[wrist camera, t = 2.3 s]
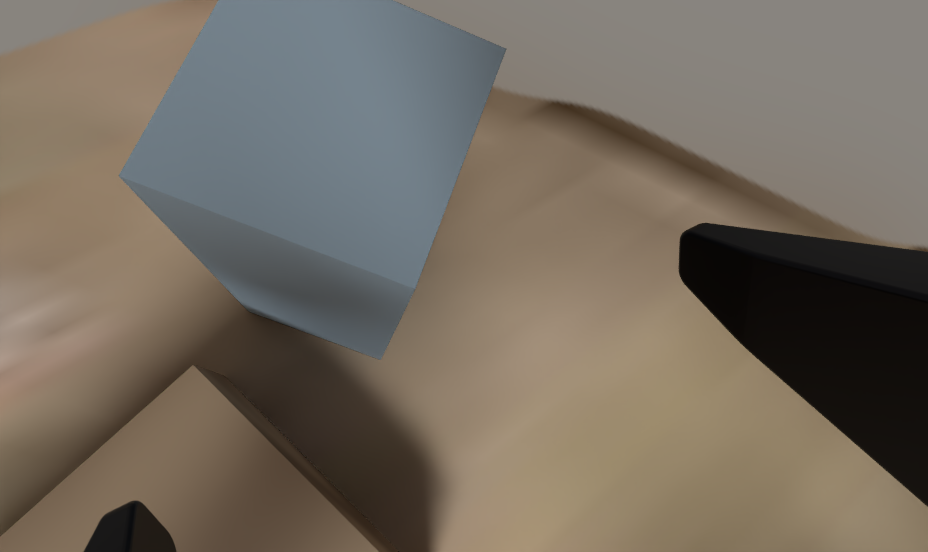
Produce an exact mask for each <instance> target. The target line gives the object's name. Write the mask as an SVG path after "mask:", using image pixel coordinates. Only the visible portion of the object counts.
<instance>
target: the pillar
mask: <svg viewBox="0 0 928 552" xmlns="http://www.w3.org/2000/svg"><path fill="white" fill-rule="evenodd" d="M505 51H506V49H505V48H503V47H501V46H498V45H496V44H494V43H491V42H489V41H486V40H484V39H482V38H480V37H477V36H475V35H473V34H470V33H468V32H466V31H463V30H461V29H459V28H456V27H454V26H451V25H449V24H447V23H445V22H442V21H440V20H438V19H435V18H433V17H431V16H428V15H426V14H423V13H421V12H419V11H417V10H414V9H412V8H410V7H407V6H405V5H402V4H400V3H398V2H395V1H393V0H219V1H218V2H217V4H216V6H215V8H214V9H213V11H212V13H211V15H210V16H209V18H208V20H207V22H206V23H205V25H204V27H203V29H202V30H201V32H200V34H199V36H198V37H197V39H196V41H195V43H194V44H193V46H192V48H191V50H190V51H189V53H188V55H187V57H186V59H185V60H184V62H183V64H182V66H181V67H180V69H179V71H178V73H177V74H176V76H175V78H174V80H173V81H172V83H171V85H170V87H169V88H168V90H167V92H166V94H165V95H164V97H163V99H162V101H161V102H160V104H159V106H158V108H157V109H156V111H155V113H154V115H153V116H152V118H151V120H150V122H149V123H148V125H147V127H146V129H145V131H144V132H143V134H142V136H141V138H140V139H139V141H138V143H137V145H136V146H135V148H134V150H133V152H132V153H131V155H130V157H129V159H128V160H127V162H126V164H125V166H124V167H123V169H122V171H121V173H120V174H119V177H120V178H121V179H122V180H123V181H124V182H125V183H126V184H127V185H128V186H129V187H130V188H131V189H132V190H133V191H134V192H135V194H136V195H137V196H138V197H139V198H140V199H141V200H142V201H143V202H144V203H145V204H146V205H147V206H148V207H149V208H150V209H151V210H152V211H153V212H154V213H155V214H156V215H157V216H158V218H159V219H160V220H161V221H162V222H163V223H164V224H165V225H166V226H167V227H168V228H169V229H170V230H171V231H172V232H173V233H174V234H175V235H176V236H177V237H178V238H179V239H180V240H181V242H182V243H183V244H184V245H185V246H186V247H187V248H188V249H189V250H190V251H191V252H192V253H193V254H194V255H195V256H196V257H197V258H198V259H199V260H200V261H201V262H202V263H203V264H204V266H205V267H206V268H207V269H208V270H209V271H210V272H211V273H212V274H213V275H214V276H215V277H216V278H217V279H218V280H219V281H220V282H221V283H222V284H223V285H224V286H225V287H226V288H227V289H228V291H229V292H230V293H231V294H232V295H233V296H234V297H235V298H236V299H237V300H238V301H239V302H240V303H241V304H242V305H243V306H244V307H245V308H246V309H247V310H248V311H249V312H252V313H254V314H257V315H260V316H262V317H265V318H268V319H271V320H273V321H276V322H279V323H282V324H284V325H287V326H290V327H292V328H295V329H298V330H301V331H303V332H306V333H309V334H311V335H314V336H317V337H320V338H322V339H325V340H328V341H330V342H333V343H336V344H339V345H341V346H344V347H347V348H349V349H352V350H355V351H358V352H360V353H363V354H366V355H368V356H371V357H374V358H377V359H379V360H381V358H382V356H383V354H384V352H385V350H386V348H387V346H388V344H389V342H390V340H391V337H392V335H393V333H394V331H395V329H396V327H397V325H398V323H399V321H400V319H401V317H402V315H403V313H404V311H405V309H406V307H407V305H408V303H409V301H410V299H411V296H412V294H413V292H414V290H415V288H416V285H417V283H418V280H419V277H420V275H421V272H422V270H423V267H424V264H425V262H426V259H427V256H428V254H429V251H430V249H431V246H432V243H433V241H434V238H435V235H436V233H437V230H438V227H439V225H440V222H441V220H442V217H443V214H444V212H445V209H446V206H447V204H448V201H449V199H450V196H451V193H452V191H453V188H454V185H455V183H456V180H457V177H458V175H459V172H460V170H461V167H462V164H463V162H464V159H465V156H466V154H467V151H468V149H469V146H470V143H471V141H472V138H473V135H474V133H475V130H476V127H477V125H478V122H479V120H480V117H481V114H482V112H483V109H484V106H485V104H486V101H487V99H488V96H489V93H490V91H491V88H492V85H493V83H494V80H495V77H496V75H497V72H498V70H499V67H500V64H501V61H502V59H503V56H504V54H505Z"/></svg>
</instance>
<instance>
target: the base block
mask: <svg viewBox="0 0 928 552" xmlns="http://www.w3.org/2000/svg"><path fill="white" fill-rule="evenodd" d="M134 500H138V501H140V502H142V503H143V504H144V505H145V506H146V507H147V508H148V509H149V510H150V512H151V513H152V514H153V515H154V516H155V517H156V518H157V519H158V520H159V522H160V523H161V524H162V525H163V526H164V527H165V528H166V529H167V531H168V532H169V533H170V535H171V537H172V539H173V541H174V544H175V547H176V551H177V552H399V551H398V550H397V549H396V548H395V547H394V546H393V545H392V544H391V543H390V542H389V541H388V540H387V539H386V538H385V537H384V536H383V535H382V534H381V533H380V532H379V531H378V530H377V529H376V528H375V527H374V526H373V525H372V524H371V523H370V522H369V521H368V520H367V519H366V518H365V517H364V516H363V515H362V514H361V513H360V512H359V511H358V510H357V509H356V508H355V507H354V506H353V505H352V504H351V503H350V502H349V501H348V500H347V499H346V498H345V497H344V496H343V495H342V494H341V493H340V492H339V491H338V490H337V489H336V488H335V487H334V486H333V485H332V484H331V483H330V482H329V481H328V480H327V479H326V478H325V477H324V476H323V475H322V474H321V473H320V472H319V471H318V470H317V469H316V468H315V467H314V466H313V465H312V464H311V463H310V462H309V461H308V460H307V459H306V458H305V457H304V456H303V455H302V454H301V453H300V452H299V451H298V450H297V449H296V448H295V447H294V446H293V445H292V444H291V443H290V442H289V441H288V440H287V439H286V438H285V437H284V436H283V435H282V434H281V433H280V432H279V431H278V430H277V429H276V428H275V427H274V426H273V425H272V424H271V423H270V422H269V421H268V420H267V419H266V418H265V417H264V416H263V415H262V414H261V413H260V412H259V411H258V410H257V409H256V408H255V407H254V406H253V405H252V404H251V403H250V402H249V401H248V400H247V399H246V398H245V397H244V396H243V395H242V394H241V393H240V392H239V391H238V390H237V389H236V387H235V386H234V385H233V384H232V383H231V382H230V381H229V380H228V379H227V378H226V377H225V376H224V375H221V374H218V373H215V372H212V371H209V370H206V369H204V368H201V367H198V366H195V365H192V366H191V367H190V368H189V369H188V370H187V371H185V372H184V373H183V374H182V375H181V376H180V377H179V378H178V379H176V380H175V381H174V382H173V383H172V384H171V385H170V386H169V387H167V388H166V389H165V390H164V391H163V392H162V393H161V394H160V395H159V396H157V397H156V398H155V399H154V400H153V401H152V402H151V403H150V404H148V405H147V406H146V407H145V408H144V409H143V410H142V411H141V412H139V413H138V414H137V415H136V416H135V417H134V418H133V419H132V420H130V421H129V422H128V423H127V424H126V425H125V426H124V427H123V428H121V429H120V430H119V431H118V432H117V433H116V434H115V435H114V436H112V437H111V438H110V439H109V440H108V441H107V442H106V443H105V444H103V445H102V446H101V447H100V448H99V449H98V450H97V451H96V452H94V453H93V454H92V455H91V456H90V457H89V458H88V459H87V460H86V461H84V462H83V463H82V464H81V465H80V466H79V467H78V468H77V469H75V470H74V471H73V472H72V473H71V474H70V475H69V476H68V477H66V478H65V479H64V480H63V481H62V482H61V483H60V484H59V485H57V486H56V487H55V488H54V489H53V490H52V491H51V492H50V493H48V494H47V495H46V496H45V497H44V498H43V499H42V500H41V501H39V502H38V503H37V504H36V505H35V506H34V507H33V508H32V509H30V510H29V511H28V512H27V513H26V514H25V515H24V516H23V517H21V518H20V519H19V520H18V521H17V522H16V523H15V524H14V525H12V526H11V527H10V528H9V529H8V530H7V531H6V532H5V533H4V534H2V535H1V536H0V552H83V551H84V550H85V548H86V546H87V544H88V542H89V540H90V538H91V536H92V534H93V533H94V531H95V529H96V527H97V525H98V523H99V521H100V520H101V518H102V517H103V516H104V515H105V514H106V513H108V512H110V511H112V510H114V509H116V508H118V507H120V506H122V505H124V504H126V503H128V502H130V501H134Z"/></svg>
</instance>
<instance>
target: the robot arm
mask: <svg viewBox="0 0 928 552" xmlns="http://www.w3.org/2000/svg"><path fill="white" fill-rule="evenodd" d="M679 275H680V277H681V279H682V281H683V283H684V284H685V285H686V286H687V287H688V288H689V289H690V291H691V292H692V293H693V294H694V295H695V296H696V297H697V298H698V299H699V300H700V301H701V302H702V303H703V304H704V305H705V306H706V308H707V309H708V310H709V311H710V312H711V313H712V314H713V315H714V316H715V317H716V318H717V319H718V320H719V321H720V322H721V323H722V325H723V326H724V327H725V328H726V329H727V330H728V331H729V332H730V333H731V334H732V335H733V336H734V337H735V338H736V339H737V340H738V341H739V342H740V343H741V344H742V345H743V346H744V347H745V348H746V349H747V350H748V351H749V352H751V353H752V354H753V355H754V356H755V357H756V358H757V359H758V360H760V361H761V362H762V363H763V364H764V365H765V366H767V367H768V368H769V369H770V370H771V371H772V372H773V373H775V374H776V375H777V376H778V377H779V378H780V379H781V380H783V381H784V382H785V383H786V384H787V385H788V386H790V387H791V388H792V389H793V390H794V391H795V392H796V393H798V394H799V395H800V396H801V397H802V398H803V399H804V400H806V401H807V402H808V403H809V404H810V405H811V406H813V407H814V408H815V409H816V410H817V411H818V412H819V413H821V414H822V415H823V416H824V417H825V418H826V419H827V420H829V421H830V422H831V423H832V424H833V425H834V426H836V427H837V428H838V429H839V430H840V431H841V432H842V433H844V434H845V435H846V436H847V437H848V438H849V439H850V440H852V441H853V442H854V443H855V444H856V445H857V446H859V447H860V448H861V449H862V450H863V451H864V452H865V453H867V454H868V455H869V456H870V457H871V458H872V459H873V460H875V461H876V462H877V463H878V464H879V465H880V466H882V467H883V468H884V469H885V470H886V471H887V472H888V473H890V474H891V475H892V476H893V477H894V478H895V479H897V480H898V481H899V482H900V483H901V484H902V485H903V486H905V487H906V488H907V489H908V490H909V491H910V492H911V493H913V494H914V495H915V496H916V497H917V498H918V499H920V500H921V501H922V502H923V503H924V504H925V505H926V506H928V252H925V251H917V250H909V249H902V248H894V247H886V246H879V245H871V244H863V243H856V242H848V241H840V240H833V239H825V238H817V237H810V236H802V235H794V234H787V233H779V232H771V231H764V230H756V229H748V228H741V227H733V226H726V225H718V224H710V223H701V224H698V225H696V226H694V227H692V228H690V229H688V230H686V231H684V232H683V233H682V235H681V237H680V246H679ZM83 552H177V551H176V547H175V544H174V541H173V539H172V537H171V535H170V533H169V532H168V531H167V529H166V528H165V527H164V526H163V525H162V524H161V523H160V522H159V520H158V519H157V518H156V517H155V516H154V515H153V514H152V513H151V512H150V510H149V509H148V508H147V507H146V506H145V505H144V504H143V503H142V502H140V501H138V500H134V501H130V502H128V503H126V504H124V505H122V506H120V507H118V508H116V509H114V510H112V511H110V512H108V513H106V514H105V515H104V516H103V517H102V518H101V520H100V521H99V523H98V525H97V527H96V529H95V531H94V533H93V534H92V536H91V538H90V540H89V542H88V544H87V546H86V548H85V550H84V551H83Z"/></svg>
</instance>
